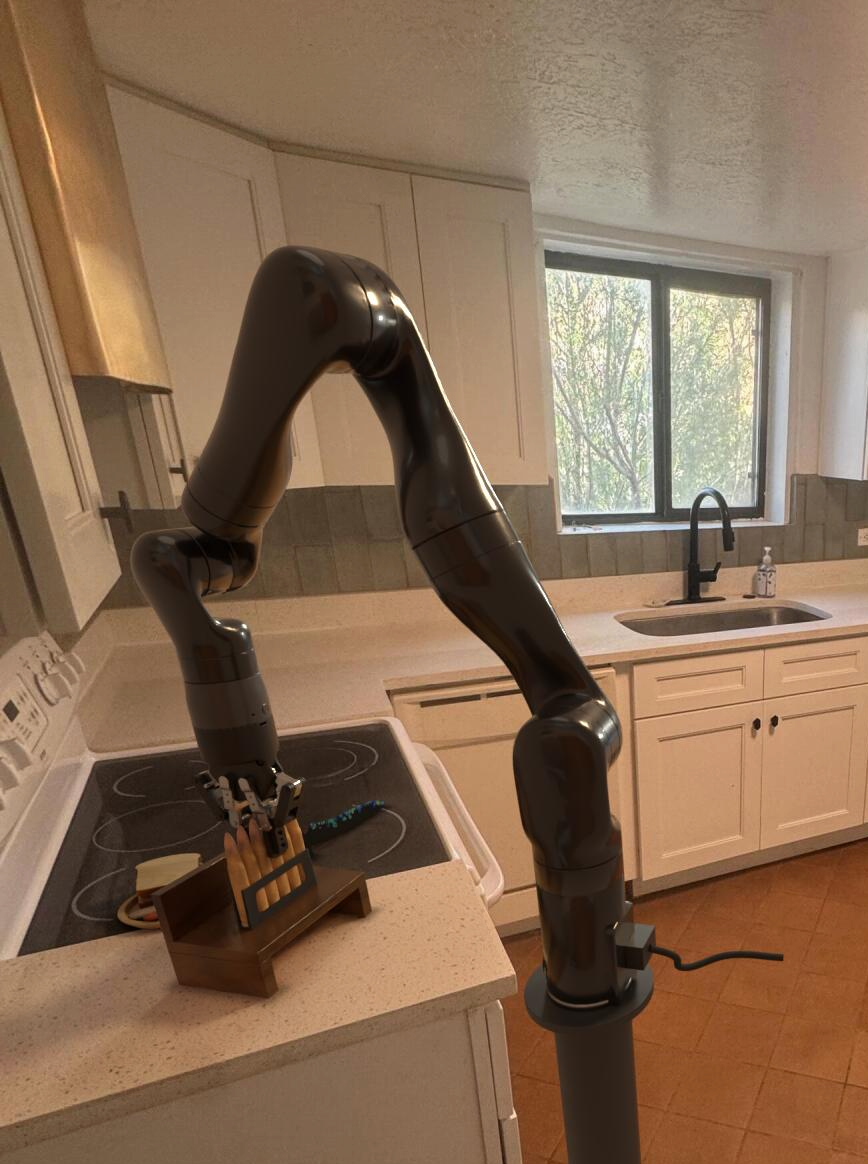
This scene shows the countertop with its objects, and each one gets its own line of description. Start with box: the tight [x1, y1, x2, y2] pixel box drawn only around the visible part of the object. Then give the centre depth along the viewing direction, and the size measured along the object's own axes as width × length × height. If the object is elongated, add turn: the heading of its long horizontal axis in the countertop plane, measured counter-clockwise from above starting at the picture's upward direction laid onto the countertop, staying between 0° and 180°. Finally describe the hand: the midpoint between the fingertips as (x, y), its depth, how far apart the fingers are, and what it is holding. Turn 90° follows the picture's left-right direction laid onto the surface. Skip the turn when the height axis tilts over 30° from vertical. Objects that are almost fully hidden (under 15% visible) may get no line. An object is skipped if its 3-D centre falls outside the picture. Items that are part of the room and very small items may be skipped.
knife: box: [301, 799, 387, 859], centre depth 119 cm, size 31×3×4 cm, turn 162°
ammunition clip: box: [223, 813, 317, 929], centre depth 92 cm, size 11×2×12 cm, turn 169°
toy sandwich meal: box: [117, 852, 203, 930], centre depth 105 cm, size 12×14×5 cm
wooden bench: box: [151, 829, 373, 999], centre depth 95 cm, size 12×18×12 cm, turn 168°
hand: (266, 853), depth 92 cm, fingers closed
